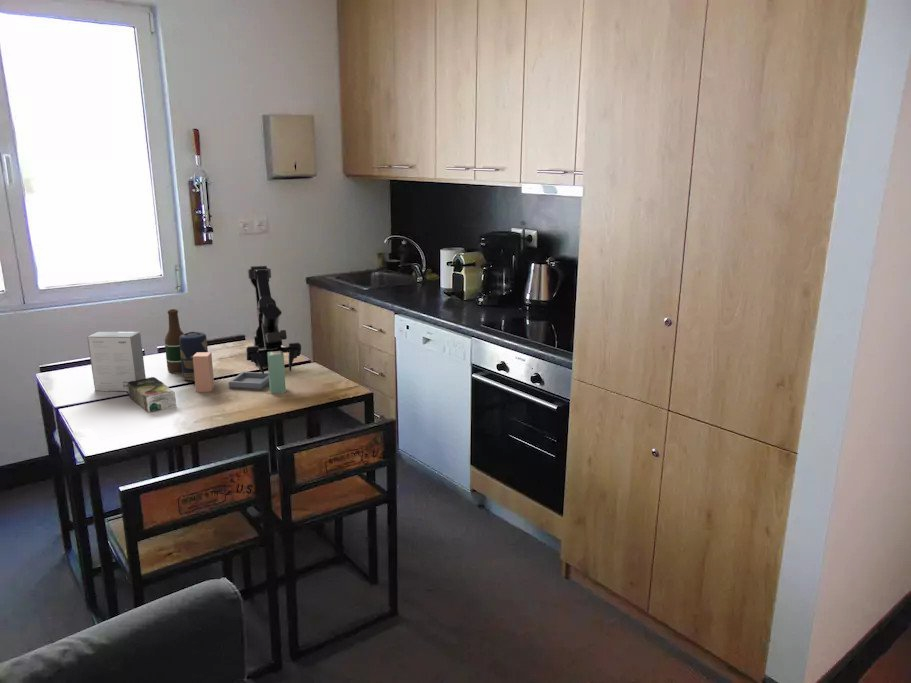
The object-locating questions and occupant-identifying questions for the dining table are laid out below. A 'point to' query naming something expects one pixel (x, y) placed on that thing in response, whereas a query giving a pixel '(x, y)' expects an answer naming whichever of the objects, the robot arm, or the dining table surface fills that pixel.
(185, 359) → the canister
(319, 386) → the dining table surface
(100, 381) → the hard drive box
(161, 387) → the juice carton
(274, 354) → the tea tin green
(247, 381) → the tray
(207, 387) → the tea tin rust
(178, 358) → the beer bottle
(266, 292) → the robot arm
